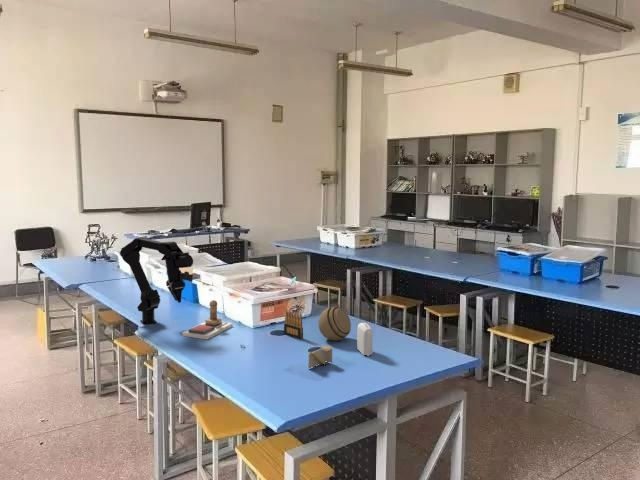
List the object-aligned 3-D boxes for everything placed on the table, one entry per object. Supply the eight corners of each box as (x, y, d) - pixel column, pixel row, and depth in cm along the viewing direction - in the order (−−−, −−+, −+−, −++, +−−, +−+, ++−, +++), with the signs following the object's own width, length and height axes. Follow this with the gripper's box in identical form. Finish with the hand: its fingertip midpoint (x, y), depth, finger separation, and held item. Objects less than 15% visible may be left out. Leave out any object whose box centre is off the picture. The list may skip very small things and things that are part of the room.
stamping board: (207, 339, 242) (207, 335, 242) (182, 335, 246) (182, 332, 246) (232, 326, 262) (232, 322, 262) (209, 322, 267) (209, 319, 267)
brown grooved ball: (323, 346, 236) (323, 312, 234) (314, 335, 250) (314, 303, 248) (356, 343, 240) (356, 310, 238) (345, 333, 254) (346, 302, 252)
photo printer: (355, 348, 233) (356, 320, 231) (365, 348, 234) (366, 320, 233) (363, 357, 223) (364, 327, 222) (373, 356, 224) (374, 327, 223)
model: (332, 365, 215) (332, 346, 214) (314, 372, 207) (315, 353, 206) (325, 363, 217) (326, 344, 216) (308, 370, 209) (308, 351, 208)
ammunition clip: (283, 334, 252) (283, 308, 250) (286, 333, 253) (286, 307, 251) (300, 339, 244) (300, 313, 243) (303, 338, 246) (303, 312, 244)
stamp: (215, 326, 256) (215, 302, 254) (205, 325, 258) (205, 300, 256) (221, 323, 261) (221, 299, 259) (211, 322, 263) (211, 298, 261)
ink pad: (203, 334, 244) (203, 332, 243) (188, 332, 246) (188, 329, 246) (214, 329, 252) (214, 326, 252) (199, 327, 255) (199, 324, 255)
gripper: (193, 266, 250) (199, 300, 251) (186, 264, 268) (191, 296, 269) (169, 271, 246) (174, 305, 247) (163, 268, 263) (168, 300, 264)
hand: (178, 301), depth 257 cm, fingers open, 9 cm apart
